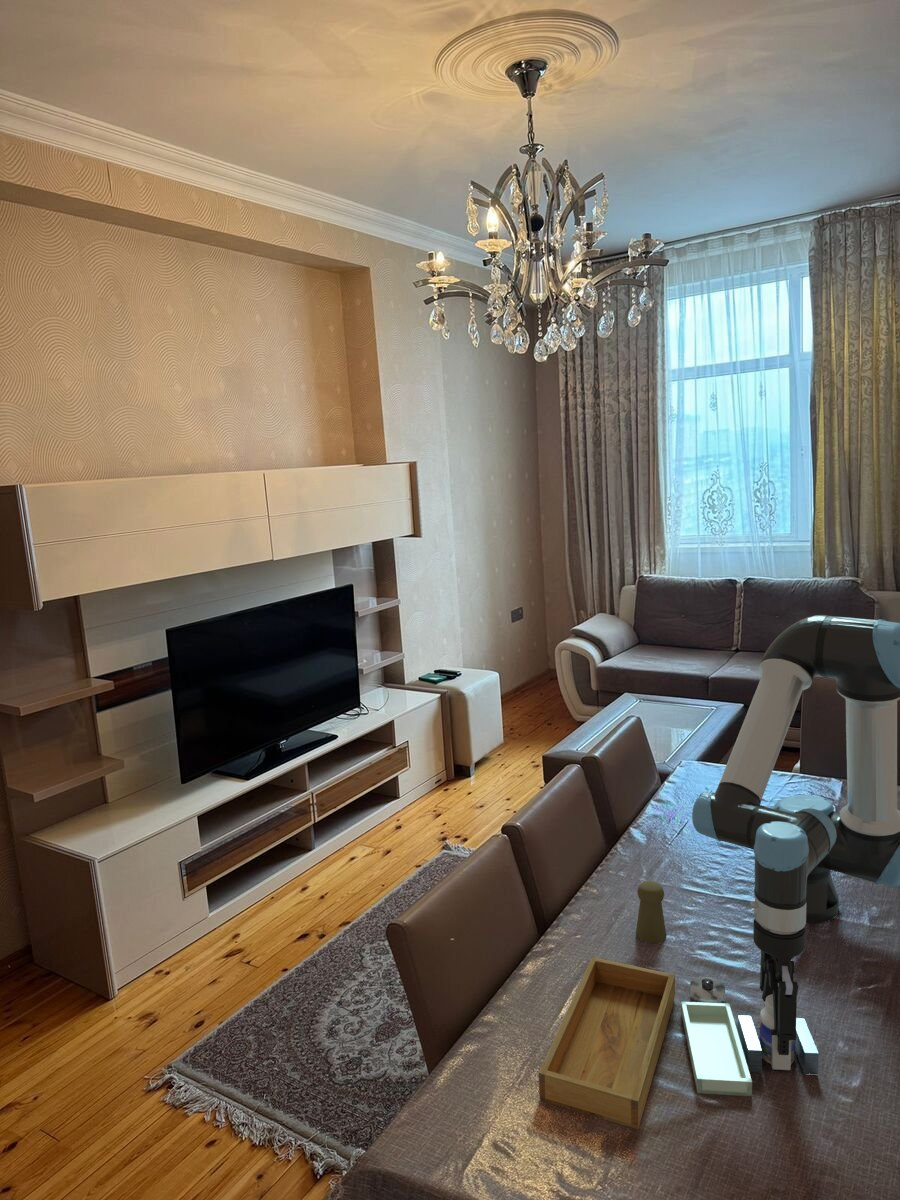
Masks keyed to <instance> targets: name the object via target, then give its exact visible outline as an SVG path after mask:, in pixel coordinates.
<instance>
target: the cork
mask: <svg viewBox="0 0 900 1200" xmlns="http://www.w3.org/2000/svg"><path fill="white" fill-rule="evenodd" d="M637 896H638V899H639V900H640V901H639V906H638V907H639V908H638V915H637V922H636V930H635V936H636V937H637V939H639V940H640V942H641V941H642V942H644V943H646V944H659V943H662V942H664V941H665V940H667V931H666V930H667V929H666V924H665V916H664V910H663V905H662V903H663V902H662V901H663V900H664V896H665V891H664V887H663V886H662V885H661V884H660V883H659V882H656V881H652V880H648V881H647V880H646V881H643V882H640V884H639V885H638V888H637Z"/></svg>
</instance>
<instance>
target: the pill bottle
mask: <svg viewBox="0 0 900 1200" xmlns="http://www.w3.org/2000/svg"><path fill="white" fill-rule="evenodd" d="M764 1004H765V1007H764V1008H763V1007H762V1009H760V1012H759V1035H758V1037H759V1038H758V1040H759V1043H760V1046H761V1049H762V1059H763V1060H764V1061H765V1062H767V1064H768V1063H769V1064H770V1065H771V1059H772V1035H770V1031H769V1029H774V1009H773V994H771V995H768V996H767V997H766V1000H765V1002H764ZM795 1056H796V1052H795V1040H791V1065H792V1064H793V1063H794V1061H795V1058H796V1057H795Z"/></svg>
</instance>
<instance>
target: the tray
mask: <svg viewBox="0 0 900 1200" xmlns="http://www.w3.org/2000/svg"><path fill="white" fill-rule="evenodd" d="M675 997H676V976H675V974H672V973H668V972H664V971H663V972H662V971H659V970H655V969H650V968H646V967H645V968H644V967H641V966H635V965H631V964H626V963H622V962H617V961H614V960H608V959H604V958H599V957H594V956H592V957H591V958H590V961H589V963H588V965H587V967H586V970H585V972H584V974H583V976H582V978H581V980H580V982H579V985H578V987H577V989H576V991H575V994H574V995H573V998H572V1000H571V1002H570V1004H569V1006H568V1008H567V1011H566V1013H565V1014H564V1015H565V1016H564V1017H563V1020H562V1021H561V1023H560V1026H559V1027H558V1030H557V1032H556V1034H555V1036H554V1039H553V1041H552V1043H551V1044H550V1047H549V1049H548V1052H547V1054H546V1056H545V1058H544V1060H543V1062H542V1065H541V1067H540V1069H539V1071H538V1092H539V1100H540V1101H541V1102H544V1103H548V1104H550V1105H554V1106H557V1105H558V1107H560V1106H561V1108H564V1107H565V1108H564V1109H567V1108H570V1109H573V1110H572V1111H574V1110H576V1111H575V1112H577V1111H579V1112H578V1113H581V1112H582V1113H581V1114H585V1115H587V1116H591V1117H594V1116H595V1118H598V1119H601V1118H602V1120H604V1119H606V1121H608V1120H609V1122H611V1121H612V1122H611V1123H615V1124H618V1125H621V1126H625V1127H628V1128H633V1129H635V1130H639V1128H640V1125H641V1122H642V1117H643V1115H644V1114H643V1113H644V1111H645V1106H646V1104H647V1100H648V1096H649V1093H650V1090H651V1089H650V1088H651V1085H652V1081H653V1078H654V1074H655V1070H656V1068H657V1064H658V1060H659V1056H660V1053H661V1049H662V1046H663V1042H664V1038H665V1035H666V1032H667V1028H668V1024H669V1020H670V1017H671V1013H672V1010H673V1006H674V1004H675V1000H676V999H675ZM570 1109H569V1110H570Z"/></svg>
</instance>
